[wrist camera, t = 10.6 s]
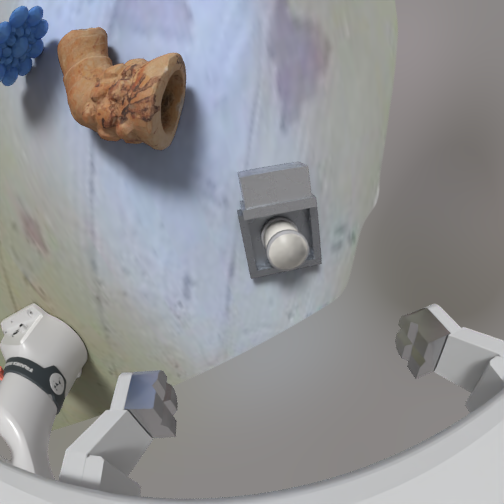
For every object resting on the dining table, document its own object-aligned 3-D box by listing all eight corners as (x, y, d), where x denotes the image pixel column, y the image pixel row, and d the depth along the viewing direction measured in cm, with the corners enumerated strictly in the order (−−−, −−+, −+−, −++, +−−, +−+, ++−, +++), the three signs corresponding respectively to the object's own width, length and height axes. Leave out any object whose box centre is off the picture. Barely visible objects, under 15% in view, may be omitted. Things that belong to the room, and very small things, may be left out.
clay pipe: (123, 162, 36) (218, 130, 31) (73, 188, 27) (182, 146, 23) (91, 49, 27) (181, 0, 23) (36, 50, 18) (135, -25, 14)
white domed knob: (257, 220, 37) (264, 236, 32) (295, 213, 37) (307, 228, 32) (263, 254, 39) (270, 274, 34) (299, 247, 39) (310, 266, 34)
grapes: (46, 12, 20) (2, -8, 9) (71, 22, 22) (27, -2, 11) (7, 78, 23) (-44, 76, 12) (29, 92, 25) (-24, 91, 14)
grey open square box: (249, 269, 41) (252, 286, 37) (229, 173, 35) (231, 180, 31) (316, 255, 41) (325, 270, 37) (306, 160, 35) (317, 165, 31)
